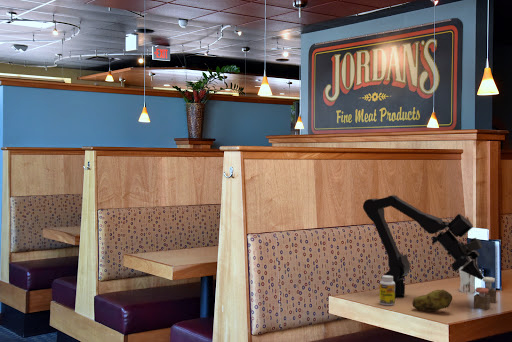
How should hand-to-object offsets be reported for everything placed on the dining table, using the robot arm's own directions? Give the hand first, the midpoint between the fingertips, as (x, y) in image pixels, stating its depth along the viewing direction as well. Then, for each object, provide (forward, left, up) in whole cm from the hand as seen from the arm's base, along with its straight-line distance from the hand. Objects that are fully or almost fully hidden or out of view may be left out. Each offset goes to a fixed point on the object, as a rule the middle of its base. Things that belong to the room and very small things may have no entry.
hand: (482, 278), depth 223 cm
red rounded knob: (0, 0, -9) cm, 9 cm away
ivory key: (+5, +12, -7) cm, 15 cm away
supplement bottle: (-34, -1, -11) cm, 35 cm away
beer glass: (0, +28, -11) cm, 30 cm away
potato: (-19, -9, -11) cm, 23 cm away
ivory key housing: (+5, +12, -10) cm, 17 cm away
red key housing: (0, 0, -10) cm, 10 cm away
